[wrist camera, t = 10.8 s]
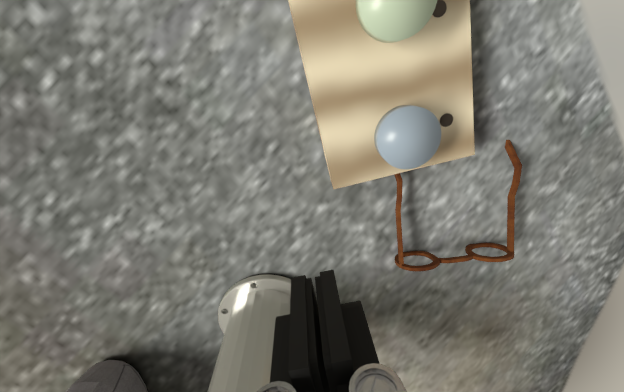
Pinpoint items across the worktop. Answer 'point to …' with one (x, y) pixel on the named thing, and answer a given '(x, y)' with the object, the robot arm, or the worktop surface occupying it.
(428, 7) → the sage key
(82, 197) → the worktop surface
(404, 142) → the slate-blue key
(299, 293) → the robot arm
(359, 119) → the wooden button board
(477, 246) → the glasses
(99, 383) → the small grey backpack
